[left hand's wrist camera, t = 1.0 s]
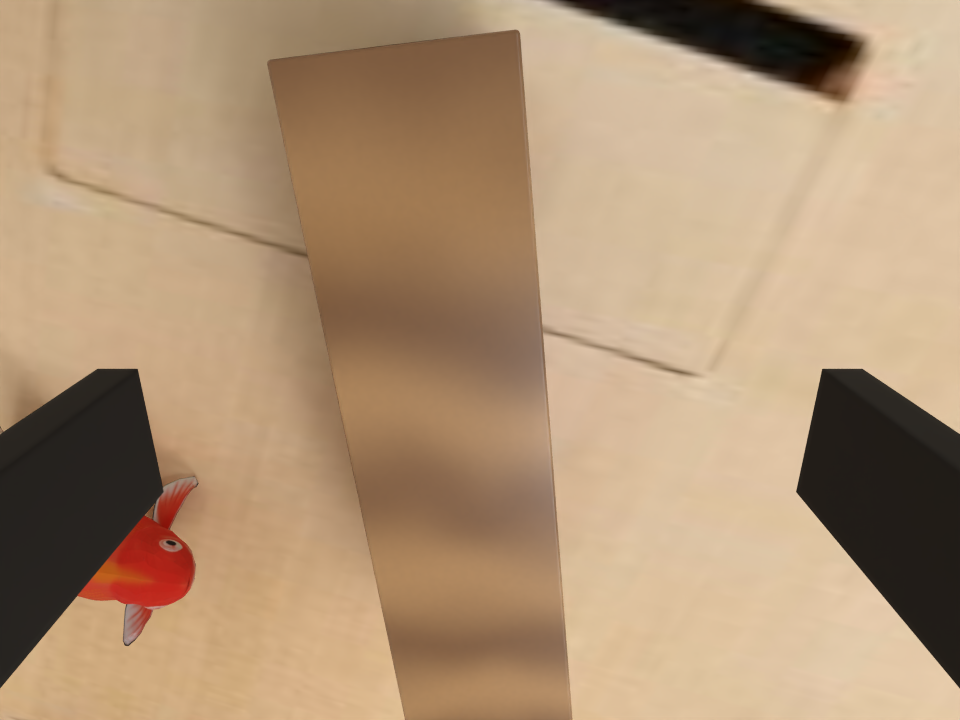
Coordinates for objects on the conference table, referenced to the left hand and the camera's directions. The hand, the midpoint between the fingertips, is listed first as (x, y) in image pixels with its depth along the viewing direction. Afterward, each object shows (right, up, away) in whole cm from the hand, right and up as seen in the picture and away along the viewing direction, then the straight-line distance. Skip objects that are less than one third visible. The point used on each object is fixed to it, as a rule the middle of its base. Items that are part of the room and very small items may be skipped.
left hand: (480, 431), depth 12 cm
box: (-1, +1, +19) cm, 19 cm away
